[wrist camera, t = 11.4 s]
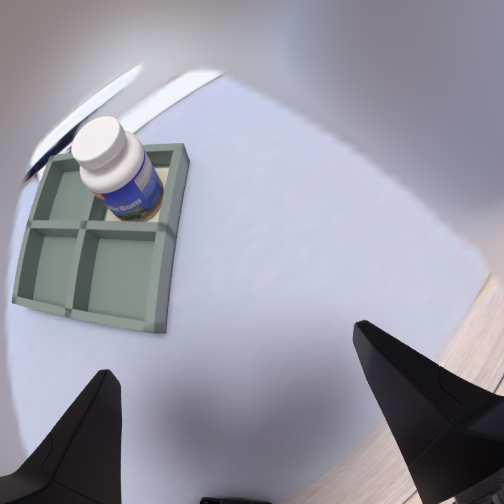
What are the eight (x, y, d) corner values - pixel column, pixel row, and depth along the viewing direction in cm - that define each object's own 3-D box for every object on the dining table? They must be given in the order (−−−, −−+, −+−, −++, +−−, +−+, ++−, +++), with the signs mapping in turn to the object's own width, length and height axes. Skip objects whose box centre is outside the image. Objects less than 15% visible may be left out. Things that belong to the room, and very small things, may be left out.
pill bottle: (108, 223, 25) (51, 173, 15) (122, 174, 26) (78, 113, 17) (159, 227, 24) (113, 169, 15) (171, 174, 26) (138, 105, 17)
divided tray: (165, 333, 22) (153, 333, 20) (29, 307, 23) (11, 302, 20) (189, 161, 27) (183, 143, 24) (62, 168, 27) (50, 156, 25)
